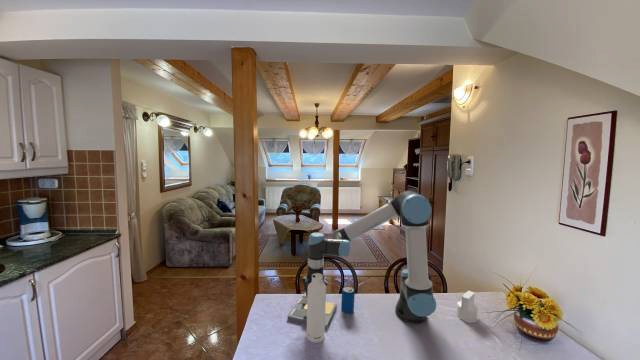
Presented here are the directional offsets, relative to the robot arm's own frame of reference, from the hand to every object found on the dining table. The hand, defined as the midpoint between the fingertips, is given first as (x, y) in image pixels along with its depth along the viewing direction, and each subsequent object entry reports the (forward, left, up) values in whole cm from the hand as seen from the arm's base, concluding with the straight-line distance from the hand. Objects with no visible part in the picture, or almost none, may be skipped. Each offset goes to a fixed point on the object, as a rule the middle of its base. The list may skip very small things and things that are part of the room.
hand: (314, 312), depth 126 cm
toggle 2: (+3, 0, -2) cm, 3 cm away
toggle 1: (+7, -10, -2) cm, 13 cm away
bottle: (-4, +10, -4) cm, 11 cm away
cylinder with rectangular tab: (-72, -30, -4) cm, 78 cm away
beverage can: (-14, -13, -4) cm, 19 cm away
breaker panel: (+2, -5, -4) cm, 7 cm away
